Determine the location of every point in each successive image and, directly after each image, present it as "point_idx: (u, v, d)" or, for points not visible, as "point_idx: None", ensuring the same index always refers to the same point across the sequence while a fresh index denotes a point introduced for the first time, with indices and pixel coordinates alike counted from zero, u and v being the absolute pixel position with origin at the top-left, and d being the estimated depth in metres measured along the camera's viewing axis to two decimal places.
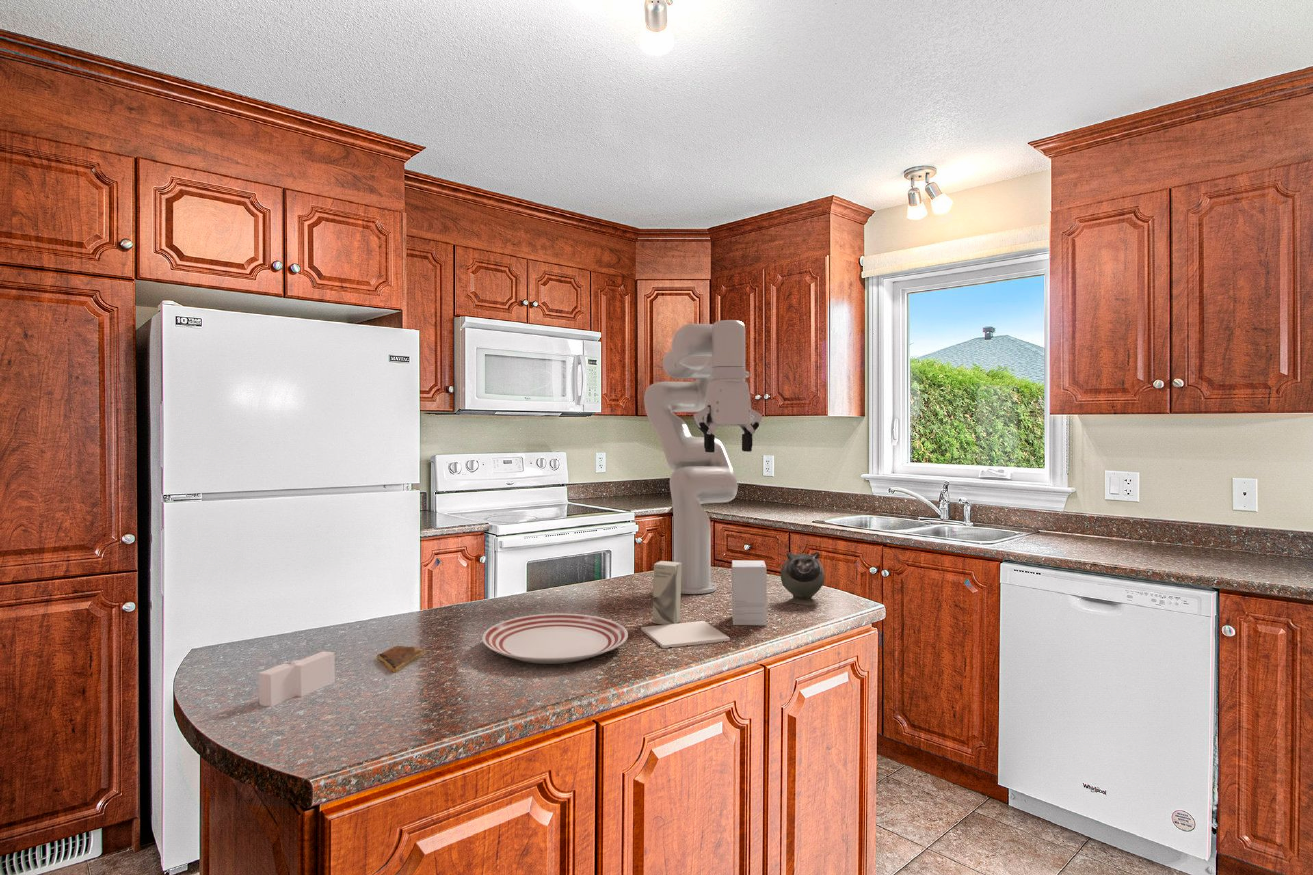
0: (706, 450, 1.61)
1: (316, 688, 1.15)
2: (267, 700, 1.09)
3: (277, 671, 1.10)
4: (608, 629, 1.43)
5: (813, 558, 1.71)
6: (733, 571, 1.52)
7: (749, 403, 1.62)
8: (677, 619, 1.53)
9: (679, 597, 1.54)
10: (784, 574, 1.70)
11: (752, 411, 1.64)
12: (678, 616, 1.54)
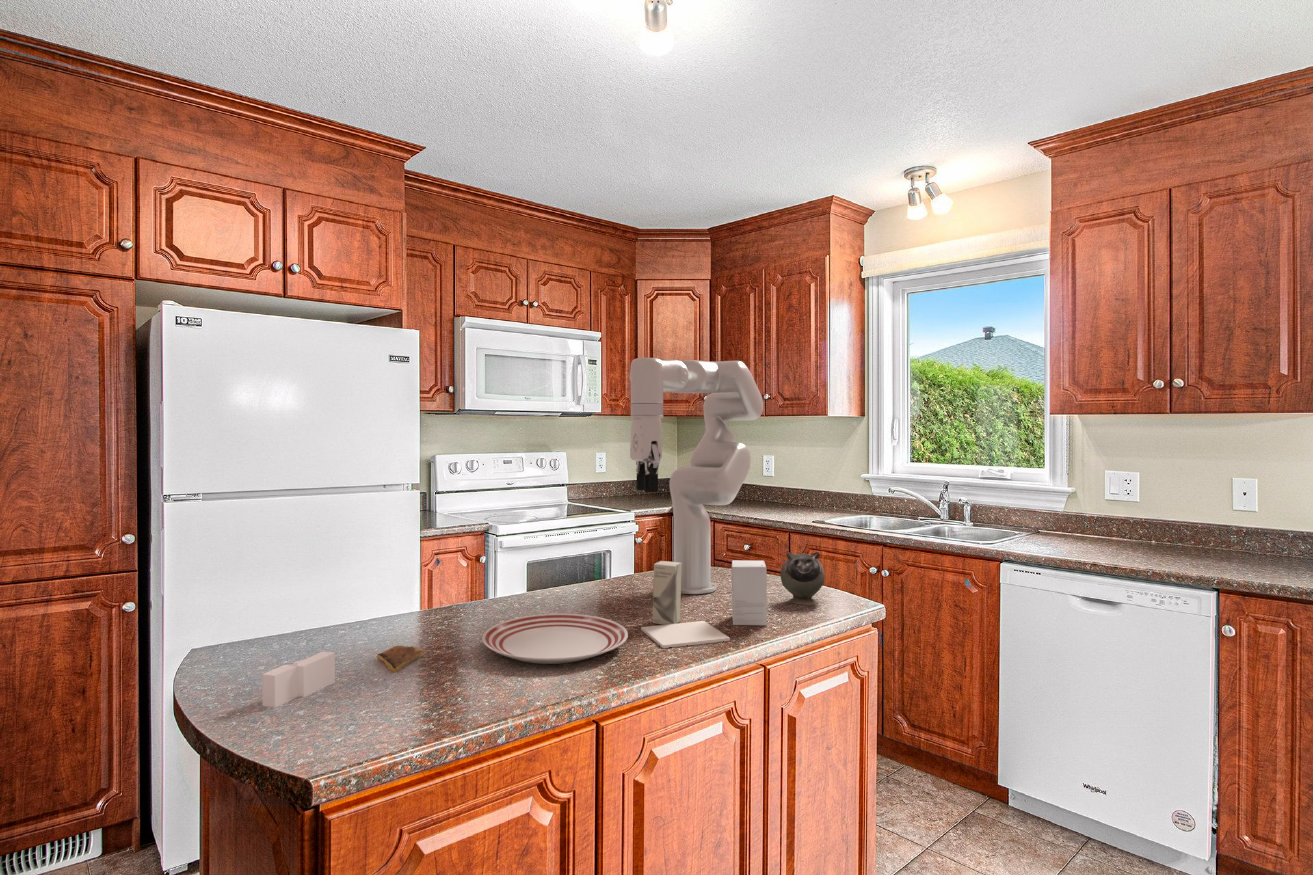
0: (647, 490, 1.63)
1: (318, 688, 1.15)
2: (271, 701, 1.08)
3: (280, 672, 1.10)
4: (608, 629, 1.43)
5: (813, 558, 1.71)
6: (733, 571, 1.52)
7: None
8: (677, 619, 1.53)
9: (679, 597, 1.54)
10: (784, 574, 1.70)
11: None
12: (678, 616, 1.54)
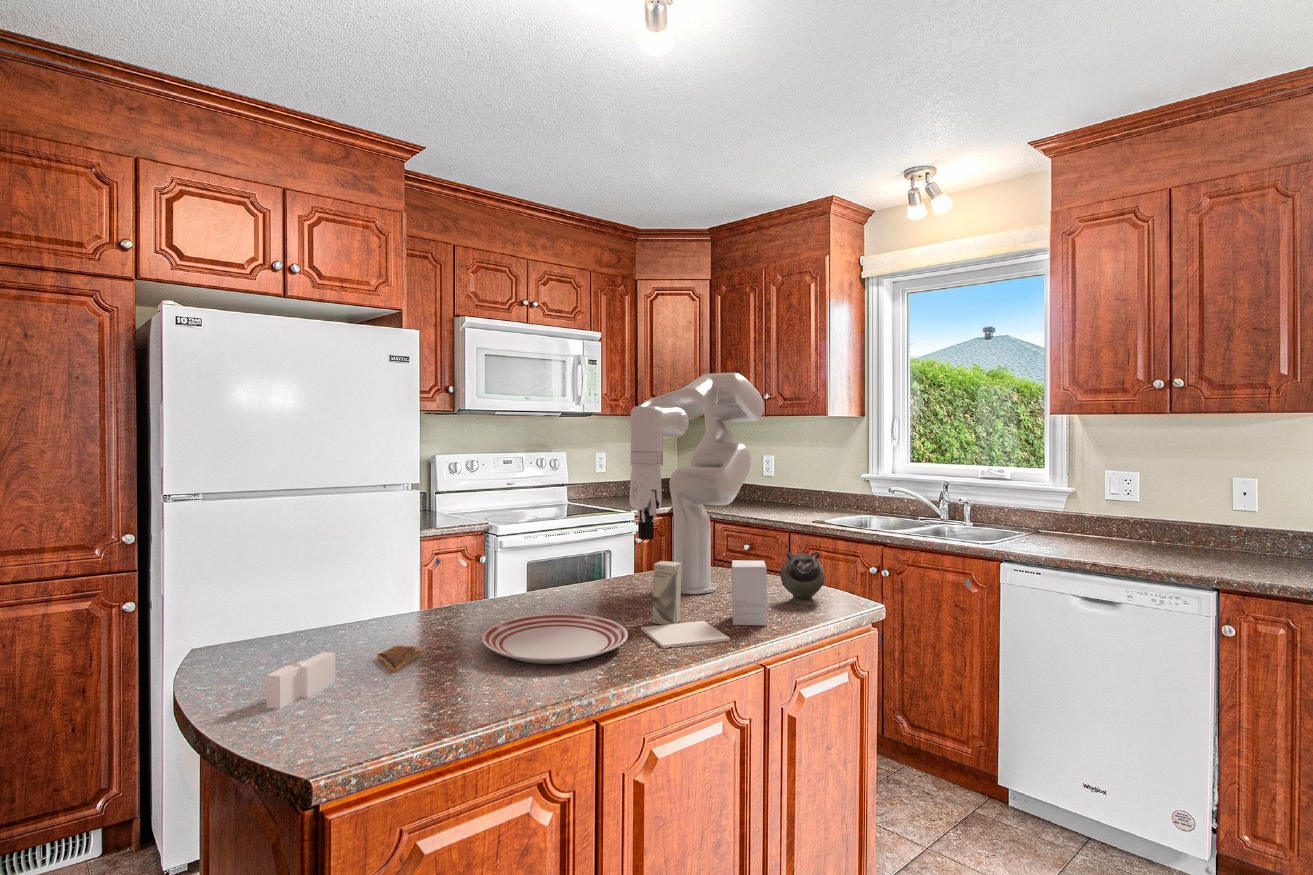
0: (643, 538, 1.65)
1: (320, 689, 1.15)
2: (275, 702, 1.08)
3: (285, 673, 1.09)
4: (608, 629, 1.43)
5: (813, 558, 1.71)
6: (733, 571, 1.52)
7: None
8: (677, 619, 1.53)
9: (679, 597, 1.54)
10: (784, 574, 1.70)
11: None
12: (678, 616, 1.54)
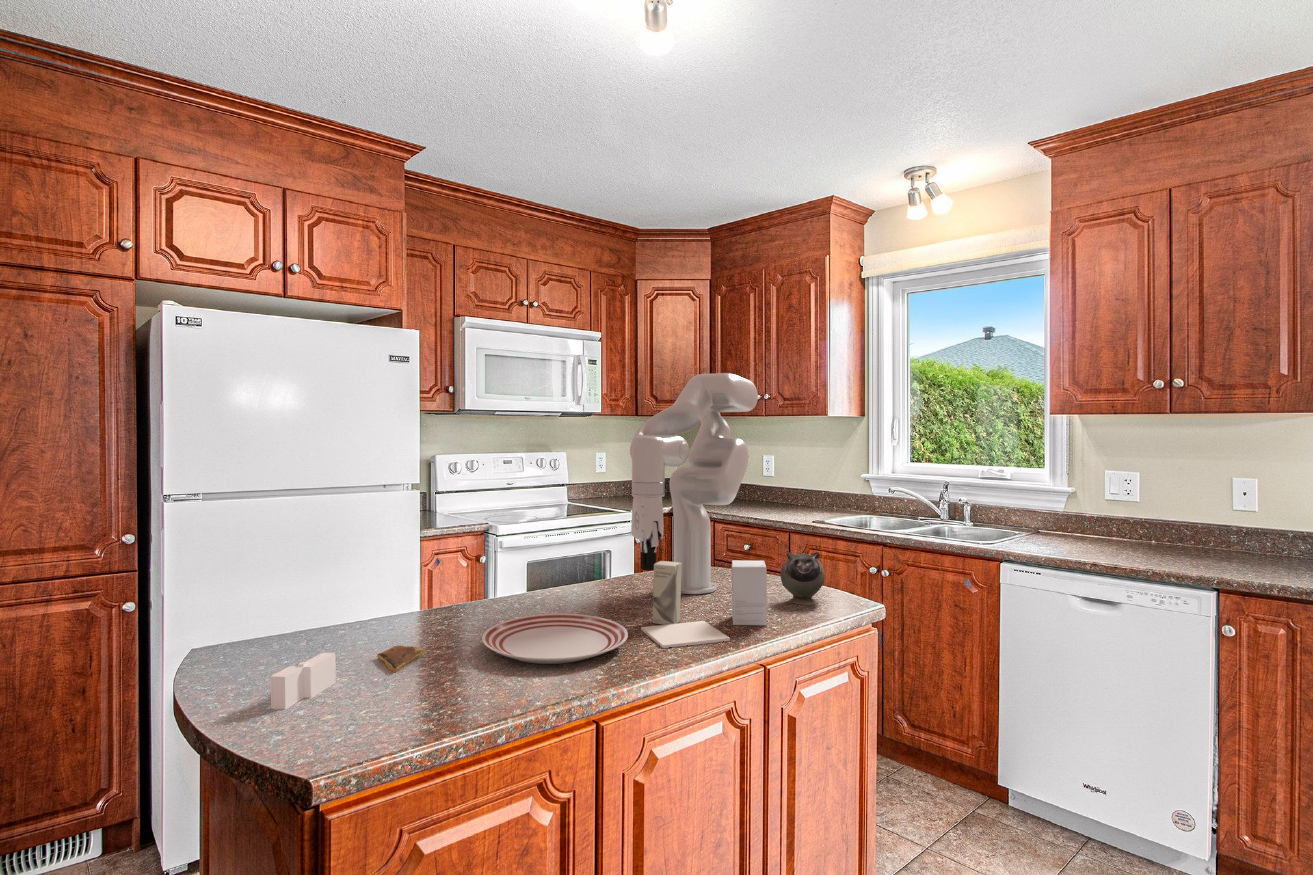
0: (645, 568, 1.64)
1: (322, 689, 1.15)
2: (280, 703, 1.08)
3: (289, 673, 1.09)
4: (608, 629, 1.43)
5: (813, 558, 1.71)
6: (733, 571, 1.52)
7: None
8: (677, 619, 1.53)
9: (679, 597, 1.54)
10: (784, 574, 1.70)
11: None
12: (678, 616, 1.54)
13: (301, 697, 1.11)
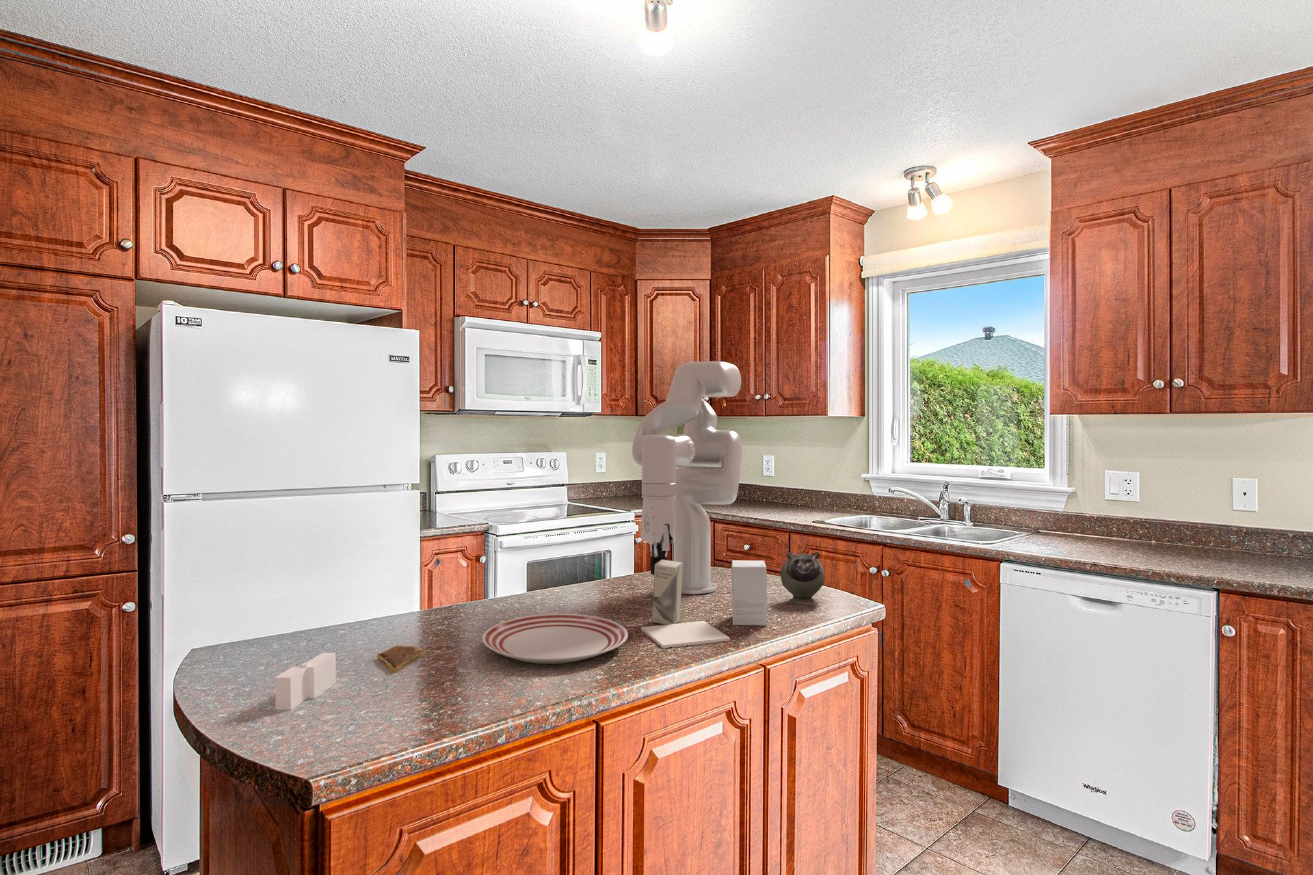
0: None
1: (324, 689, 1.15)
2: (286, 704, 1.07)
3: (293, 674, 1.09)
4: (608, 629, 1.43)
5: (813, 558, 1.71)
6: (733, 571, 1.52)
7: None
8: (677, 618, 1.53)
9: (679, 597, 1.54)
10: (784, 574, 1.70)
11: None
12: (678, 615, 1.54)
13: (305, 697, 1.11)
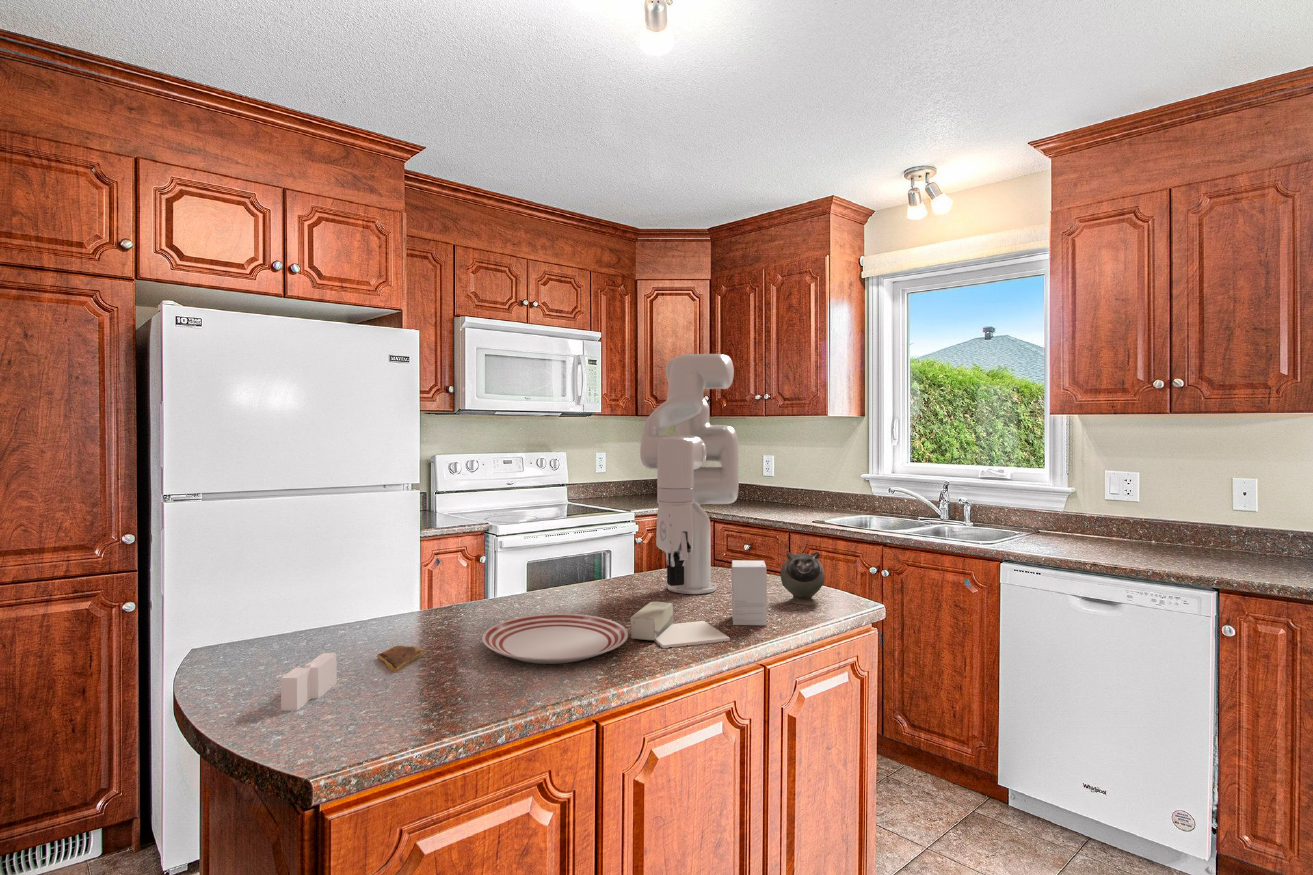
0: (672, 584, 1.48)
1: (326, 689, 1.15)
2: (292, 704, 1.07)
3: (299, 674, 1.09)
4: (608, 629, 1.43)
5: (813, 558, 1.71)
6: (733, 571, 1.52)
7: None
8: (672, 613, 1.51)
9: (665, 614, 1.46)
10: (784, 574, 1.70)
11: None
12: (671, 611, 1.50)
13: (309, 698, 1.11)
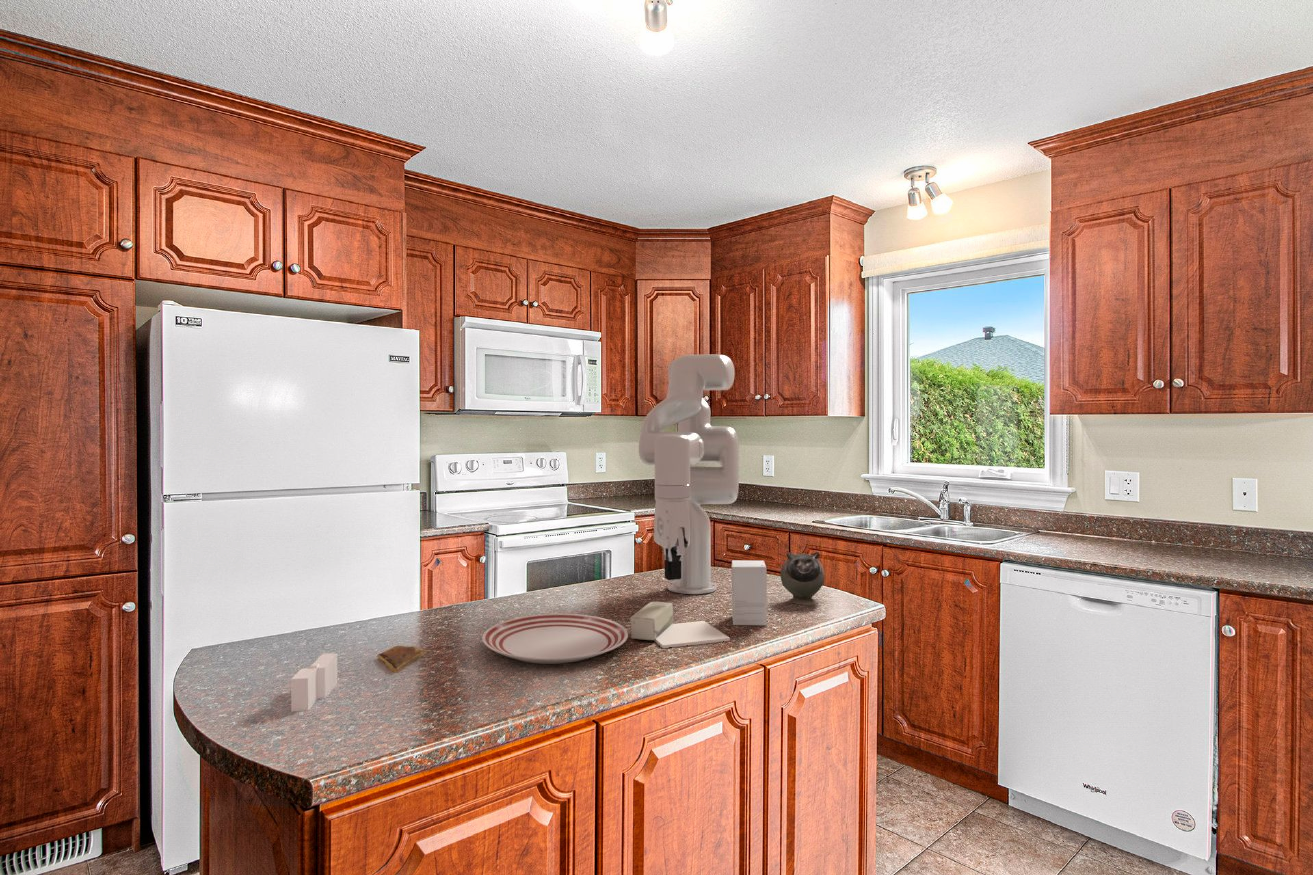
0: (670, 578, 1.51)
1: (330, 689, 1.15)
2: (303, 705, 1.07)
3: (309, 674, 1.08)
4: (608, 629, 1.43)
5: (813, 558, 1.71)
6: (733, 571, 1.52)
7: None
8: (672, 613, 1.51)
9: (665, 614, 1.46)
10: (784, 574, 1.70)
11: None
12: (671, 611, 1.50)
13: (316, 698, 1.11)
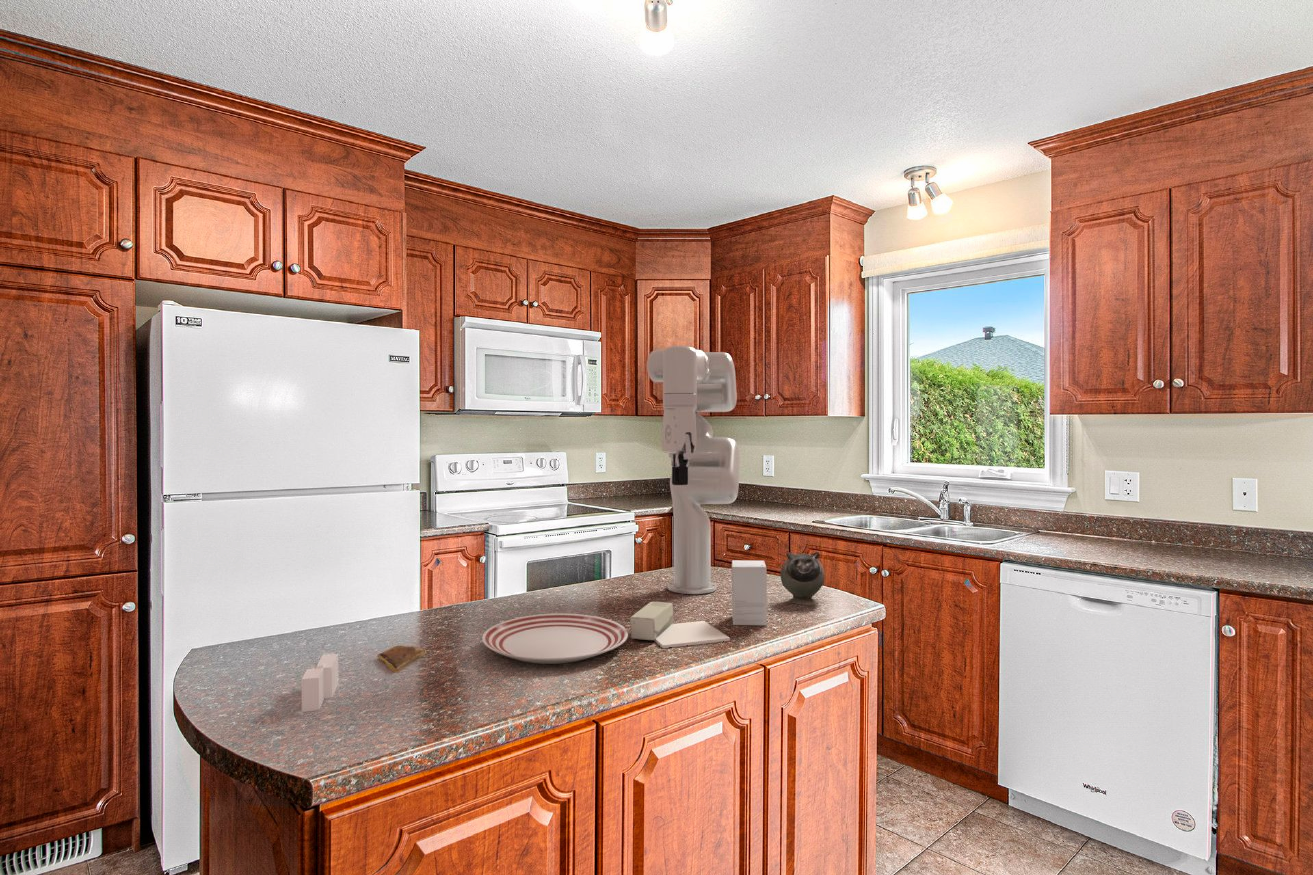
0: (677, 483, 1.59)
1: (334, 689, 1.15)
2: (313, 704, 1.07)
3: (318, 674, 1.09)
4: (608, 629, 1.43)
5: (813, 558, 1.71)
6: (733, 571, 1.52)
7: None
8: (672, 613, 1.51)
9: (665, 614, 1.46)
10: (784, 574, 1.70)
11: None
12: (671, 611, 1.50)
13: (323, 698, 1.11)
